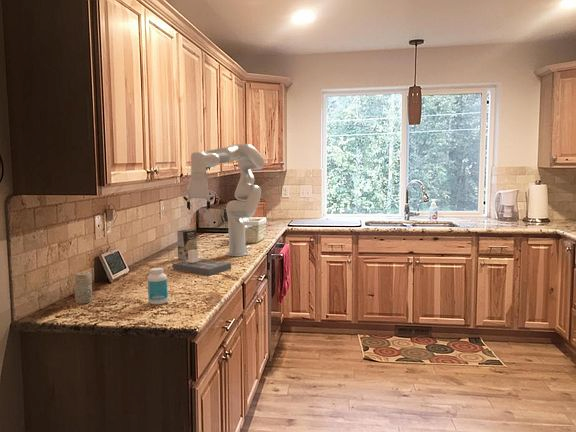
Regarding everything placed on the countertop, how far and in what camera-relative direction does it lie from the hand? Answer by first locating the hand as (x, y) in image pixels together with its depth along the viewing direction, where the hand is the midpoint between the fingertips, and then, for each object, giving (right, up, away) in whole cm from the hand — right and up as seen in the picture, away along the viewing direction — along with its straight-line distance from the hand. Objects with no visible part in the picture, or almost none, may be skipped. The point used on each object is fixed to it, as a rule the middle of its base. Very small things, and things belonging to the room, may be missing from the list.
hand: (198, 209), depth 253 cm
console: (+3, -31, -6) cm, 31 cm away
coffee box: (-10, -28, +22) cm, 37 cm away
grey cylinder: (-34, -38, -60) cm, 79 cm away
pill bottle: (-4, -38, -61) cm, 72 cm away
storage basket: (+22, -20, +79) cm, 84 cm away
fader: (-2, -27, -3) cm, 27 cm away
